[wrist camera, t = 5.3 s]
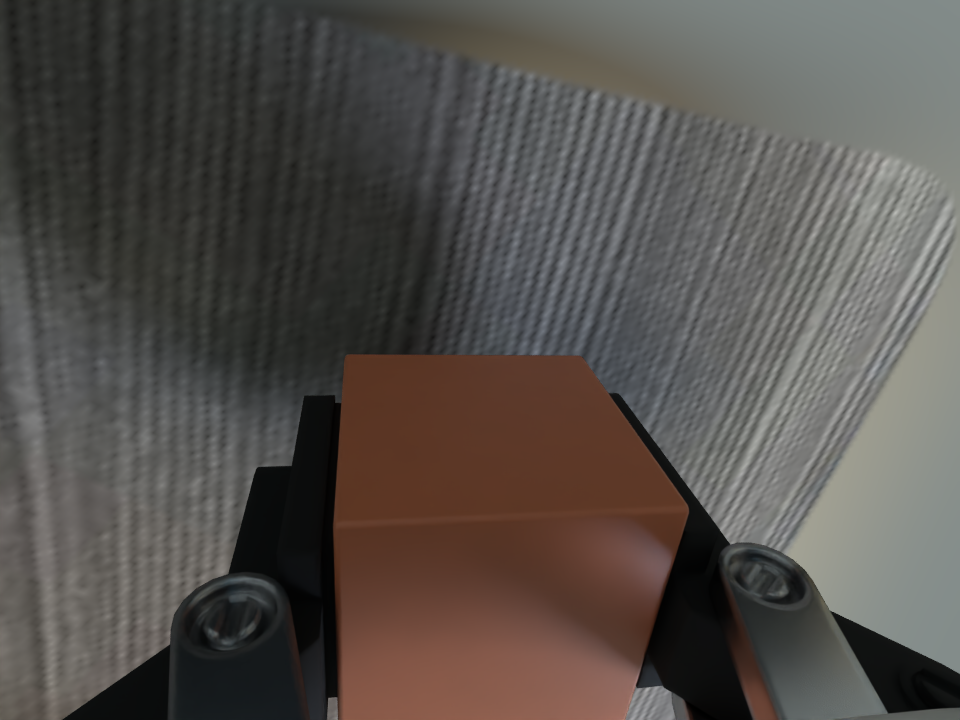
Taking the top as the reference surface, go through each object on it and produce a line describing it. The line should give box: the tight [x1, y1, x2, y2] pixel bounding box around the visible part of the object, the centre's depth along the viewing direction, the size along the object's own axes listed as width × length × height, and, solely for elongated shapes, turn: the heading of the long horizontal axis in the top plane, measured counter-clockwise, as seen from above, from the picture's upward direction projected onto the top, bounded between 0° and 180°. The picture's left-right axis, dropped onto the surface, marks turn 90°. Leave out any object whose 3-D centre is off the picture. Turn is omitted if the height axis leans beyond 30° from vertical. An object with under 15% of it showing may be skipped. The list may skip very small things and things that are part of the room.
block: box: [333, 354, 689, 720], centre depth 10 cm, size 4×4×4 cm
